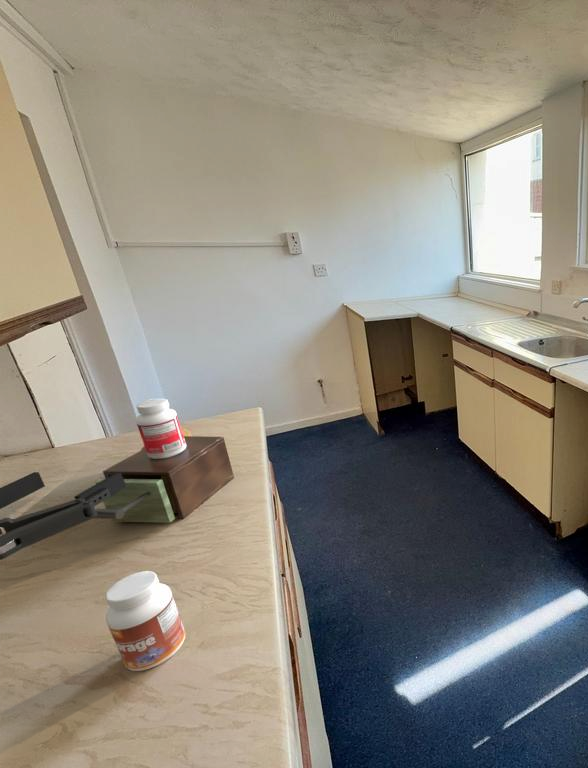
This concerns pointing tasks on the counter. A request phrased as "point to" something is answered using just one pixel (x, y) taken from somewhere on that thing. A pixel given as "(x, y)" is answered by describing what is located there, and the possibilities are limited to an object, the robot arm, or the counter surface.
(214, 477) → the cabinet
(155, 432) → the pill bottle
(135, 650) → the pill bottle
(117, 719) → the counter surface
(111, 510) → the drawer
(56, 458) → the counter surface
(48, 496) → the counter surface
